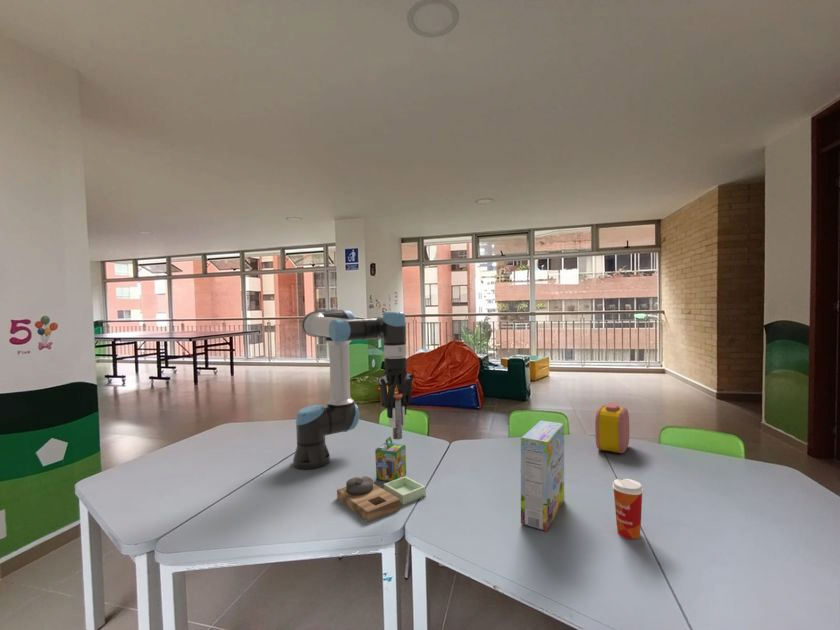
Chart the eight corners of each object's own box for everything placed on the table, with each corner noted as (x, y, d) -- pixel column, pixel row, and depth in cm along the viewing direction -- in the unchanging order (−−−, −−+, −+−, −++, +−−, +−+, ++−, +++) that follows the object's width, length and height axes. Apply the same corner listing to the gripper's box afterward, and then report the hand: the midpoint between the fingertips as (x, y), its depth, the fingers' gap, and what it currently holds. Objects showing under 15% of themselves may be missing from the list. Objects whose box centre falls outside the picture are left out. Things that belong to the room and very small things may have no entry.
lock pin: (388, 437, 134) (387, 393, 134) (399, 434, 137) (398, 391, 137) (395, 440, 131) (394, 395, 131) (406, 438, 133) (405, 393, 133)
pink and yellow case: (603, 440, 184) (603, 399, 184) (630, 445, 178) (629, 402, 178) (595, 453, 169) (594, 408, 169) (623, 458, 163) (622, 411, 163)
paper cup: (607, 527, 113) (606, 478, 112) (633, 525, 113) (632, 476, 113) (624, 543, 105) (622, 490, 105) (651, 540, 105) (650, 488, 105)
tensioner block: (337, 498, 134) (336, 478, 134) (367, 487, 142) (366, 468, 142) (368, 521, 119) (367, 498, 119) (400, 508, 126) (399, 486, 126)
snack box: (550, 533, 110) (548, 442, 110) (519, 525, 115) (517, 437, 115) (566, 500, 129) (565, 422, 128) (540, 494, 133) (538, 419, 133)
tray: (383, 492, 138) (383, 483, 138) (405, 484, 144) (405, 476, 144) (403, 504, 129) (403, 495, 129) (425, 495, 135) (425, 486, 135)
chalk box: (397, 483, 145) (396, 443, 145) (375, 480, 148) (374, 441, 148) (407, 473, 154) (406, 435, 154) (386, 470, 157) (385, 433, 157)
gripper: (380, 360, 126) (382, 433, 126) (421, 355, 136) (422, 423, 136) (368, 358, 132) (370, 428, 132) (408, 354, 141) (410, 419, 142)
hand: (397, 425), depth 134 cm, fingers closed on lock pin, 3 cm apart
